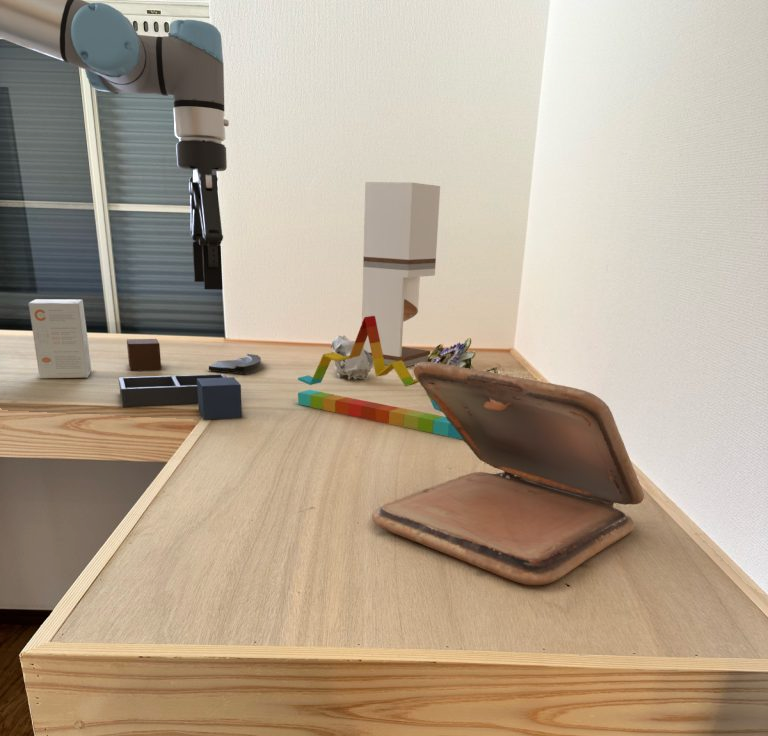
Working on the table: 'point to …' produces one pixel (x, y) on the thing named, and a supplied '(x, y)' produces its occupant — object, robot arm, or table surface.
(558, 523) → the case
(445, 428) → the multicoloured zigzag triangular frame
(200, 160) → the robot arm
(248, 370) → the curved wedge
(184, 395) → the holder
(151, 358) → the brown rectangular block
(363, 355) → the crumpled paper
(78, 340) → the small box
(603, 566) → the table surface
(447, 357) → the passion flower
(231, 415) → the pad
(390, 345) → the notched striped pillar
